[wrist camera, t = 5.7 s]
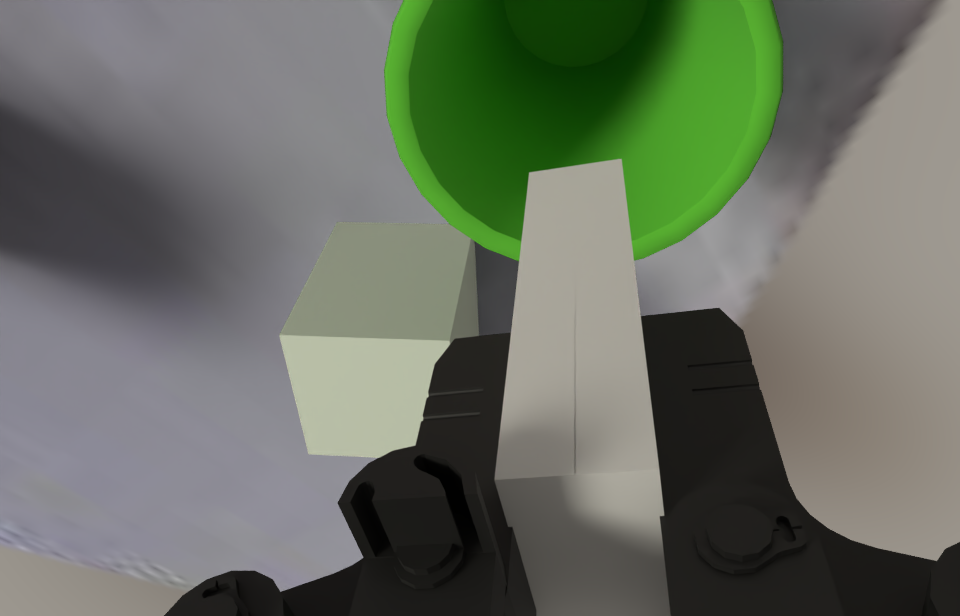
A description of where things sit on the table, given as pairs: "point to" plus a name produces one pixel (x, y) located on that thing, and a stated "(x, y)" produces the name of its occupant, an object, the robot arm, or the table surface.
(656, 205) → the cup
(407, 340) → the sage block
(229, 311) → the table surface
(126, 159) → the table surface
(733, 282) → the table surface
